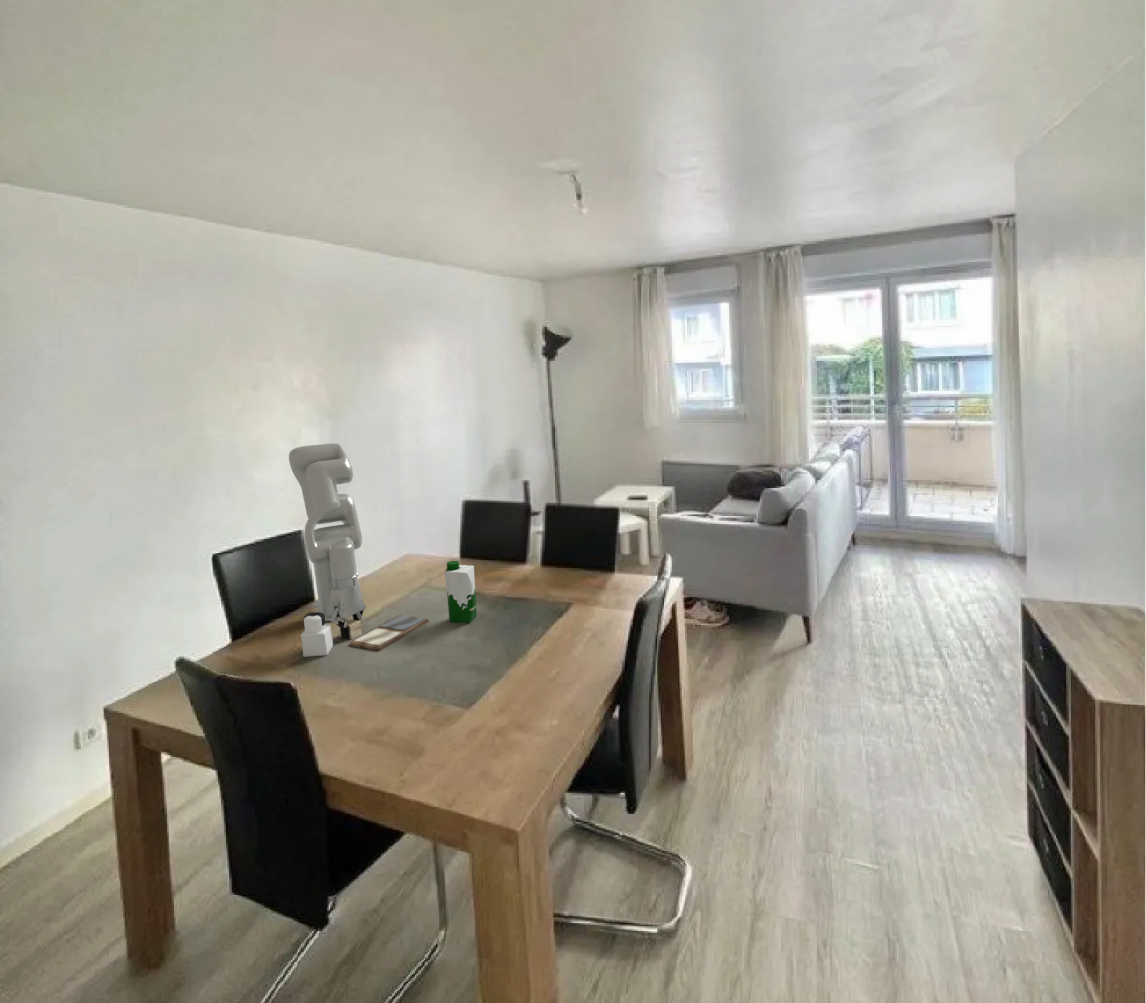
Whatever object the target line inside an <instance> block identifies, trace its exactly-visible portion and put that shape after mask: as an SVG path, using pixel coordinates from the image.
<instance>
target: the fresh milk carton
mask: <svg viewBox="0 0 1146 1003" xmlns="http://www.w3.org/2000/svg"><path fill="white" fill-rule="evenodd" d="M443 574H444V579H445V582H446V583H445V585H446V593H447V595H446V596H447V606H448V608H447V609H448V617H449V618H448V619H449V623H450V624H451V623H452V624H471V623H472V622H473V620H474V619H475V618H476V617H477V597H476V596H477V594H476V582H475V581H476V580H475V565H467V564H460V562H459V561H458V560H451V561H447V562H446V570H445V571H444V572H443Z"/></svg>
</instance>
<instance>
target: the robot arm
mask: <svg viewBox="0 0 1146 1003" xmlns="http://www.w3.org/2000/svg"><path fill="white" fill-rule="evenodd" d="M288 462H289V466H290V469H291V471H292V474H293V475H294V476H293V477H295V479H296V480H297V482H298V484H299V486H300V488H301V492H302V498H303V502H304V507H305V512H306V516H307V521H306V524H305V526H304V533H303V534H304V542H305V546H306V547H305V548H306V552H307V556H308V559H309V561H310V562H311V563H312V564H313V569H314V570H313V571H314V577H315V585H316V592H317V599H316V600H315V602H314V603H313V604H312V607H313V608H315V609H317V612H319V613H323V614H324V615H325V622H330V623H331V624H333V625H334V624H335V625H336V626H337V627H338V628H339V630H340V637H341V639H347V640H348V639H349V638H350V634H349V627H347V620H349V619H348V618H349V617H352V620H358V621H360V622H361V620H362V619H363V617H362V616H363V613H364V611H365V610H366V608H367V605H366V604H365V603H364V598H363V592H362V589H361V586H360V585H361V584H360V582H359V581H358V576H359V574H358V571H357V563H356V555H355V550H358V549H360V548H361V547H362V544H363V536H362V531H361V528H360V522H359V519H358V513H357V508H356V504H355V501H354V500H353V498H352V496H350V495H349V494H347V493H339V491H338V486H337V485H343V484H344V485H345V484H349V483H351V482H352V481H353V478H354V472H353V468H352V465H351V461H350V459H349V458H348V455H347V454H346V452H345V450H344V448H343V447H342V446H341V445H340V444H338V443H336V442H335V443H324V444H323V443H321V444H311V445H303V446H298V447H295V448H293V449H291V450H290V451H289V454H288ZM336 522H337V523H339V522H342V524H337V525H330V526H324V527H318V528H315V527H316V525H324V524H325V525H326V524H331V523H332V524H333V523H336ZM349 640H350V639H349Z"/></svg>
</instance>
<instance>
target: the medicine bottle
mask: <svg viewBox="0 0 1146 1003" xmlns="http://www.w3.org/2000/svg"><path fill="white" fill-rule="evenodd" d="M326 622H327V621H325V615H324V614H323V613H319V612H318V611H316V612H311V613H308V614H306V615H304V617H303V624H304V626H303V627H304V630H303V632H302V633H301V634H300V643H301V649H302V650H301V651H302V656H303V658H309V657H319V656H320V657H322V656H323V657H325V656H328V654H329V653H330V651H331V650H332V648H333V647H334V642H333V640H334V639H333V634H332V626H331V624H327V623H326Z"/></svg>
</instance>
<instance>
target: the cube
mask: <svg viewBox="0 0 1146 1003" xmlns="http://www.w3.org/2000/svg"><path fill="white" fill-rule="evenodd" d="M347 627H349V634H350V638H349V640H354V639H356V638H358V637H360V636H362V635H363V633H362V632H363V631H362V623H361V620H360V621H358V620H353V618H352V619H351V618H349V619H347Z"/></svg>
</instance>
